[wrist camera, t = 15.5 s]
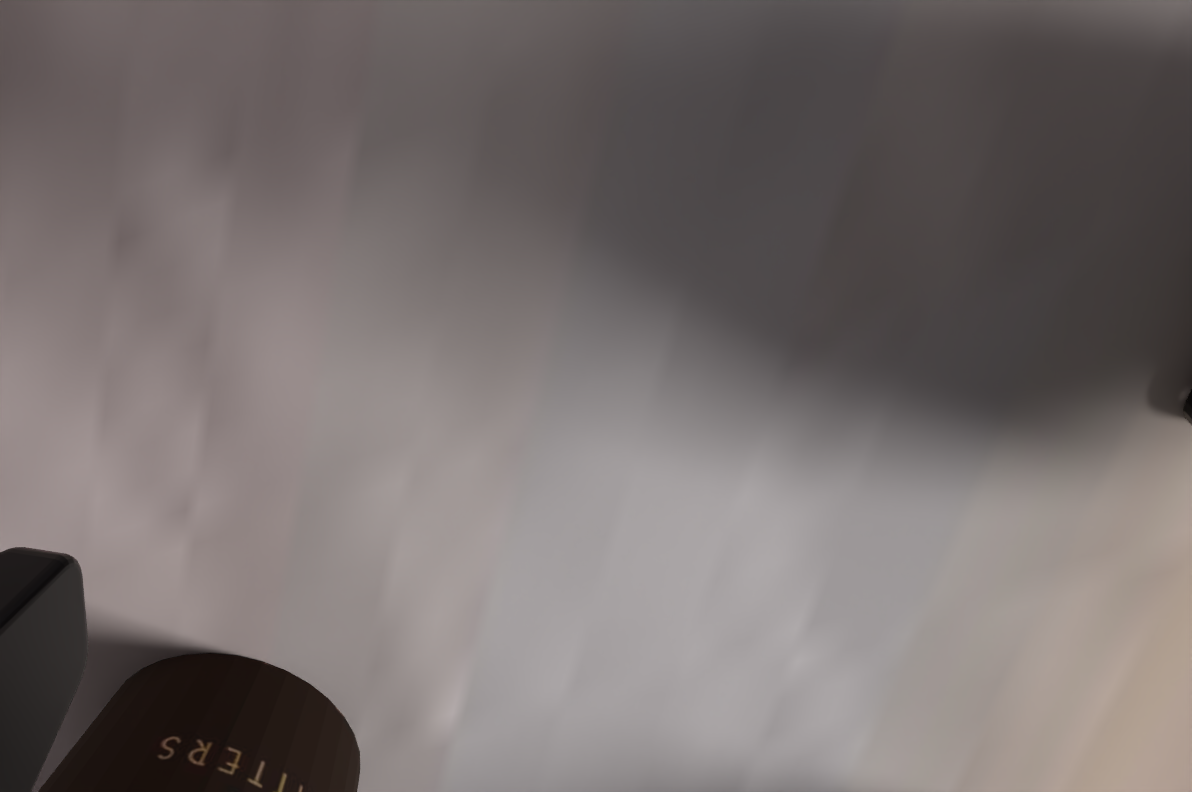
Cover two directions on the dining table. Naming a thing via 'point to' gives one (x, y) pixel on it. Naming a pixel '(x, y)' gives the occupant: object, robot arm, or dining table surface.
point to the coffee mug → (213, 733)
